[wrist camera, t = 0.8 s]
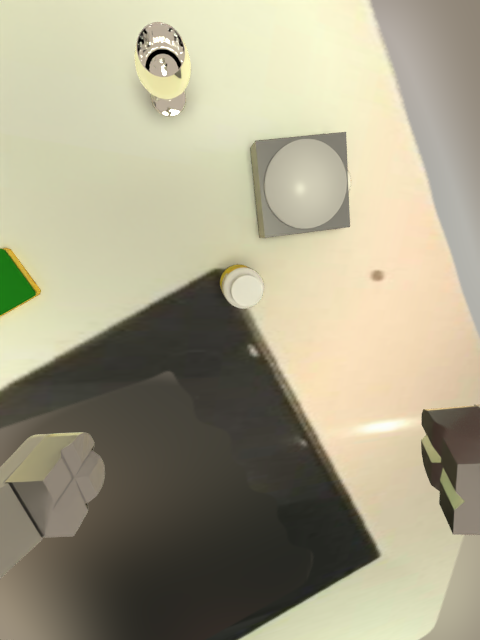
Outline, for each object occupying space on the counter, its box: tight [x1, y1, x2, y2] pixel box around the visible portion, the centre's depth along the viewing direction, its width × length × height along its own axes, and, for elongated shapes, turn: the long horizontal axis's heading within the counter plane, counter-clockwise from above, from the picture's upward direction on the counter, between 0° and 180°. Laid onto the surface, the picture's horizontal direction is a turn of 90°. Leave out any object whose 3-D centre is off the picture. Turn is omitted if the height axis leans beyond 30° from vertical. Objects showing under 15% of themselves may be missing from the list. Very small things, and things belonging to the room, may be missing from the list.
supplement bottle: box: [220, 264, 264, 309], centre depth 48 cm, size 5×5×10 cm
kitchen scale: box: [250, 132, 351, 238], centre depth 48 cm, size 12×13×5 cm
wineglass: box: [135, 22, 191, 116], centre depth 40 cm, size 6×6×12 cm
